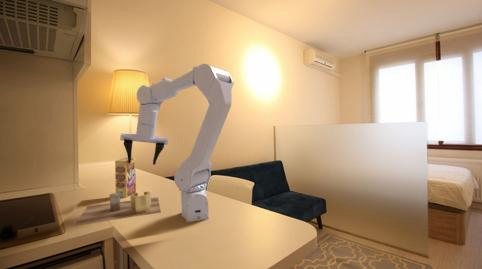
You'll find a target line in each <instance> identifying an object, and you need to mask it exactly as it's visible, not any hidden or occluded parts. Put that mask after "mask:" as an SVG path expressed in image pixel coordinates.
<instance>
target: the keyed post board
mask: <svg viewBox="0 0 482 269" xmlns="http://www.w3.org/2000/svg"><path fill="white" fill-rule="evenodd" d="M160 213H162V211H161V207H160V200H159V197H158V196H156V197H151V209H150V210H149V211H147V212H143V213H132V212H131V200H124V201H121V198H120V193H116V192H113V193H111V194H109V203H101V204H94V205H88V206H87V207H86V208H85V209H84V211H83V212H82V213H81V215H80V217H79V218H78V219H77V221H76V222H75V223H74V227H75V226H80V225H86V224H87V225H88V224H94V223H95V224H96V223H99V222H101V223H102V222H108V221H114V220H119V219H120V220H121V219H126V218H133V217H140V216H147V215H154V214H160Z"/></svg>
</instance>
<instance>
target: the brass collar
mask: <svg viewBox="0 0 482 269" xmlns="http://www.w3.org/2000/svg"><path fill="white" fill-rule="evenodd" d="M129 197H130V201H131V212H132V213H143V212H147V211H149V210H150V209H151V198H152V193H151V192H150V191H143V195H142V194H141V195H138V192H136V193H133V194H131V195H130V196H129Z"/></svg>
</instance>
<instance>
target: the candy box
mask: <svg viewBox="0 0 482 269" xmlns="http://www.w3.org/2000/svg"><path fill="white" fill-rule="evenodd" d="M114 163H115V164H114V168H115V173H114V176H115V178H114V179H115V183H114V184H115V193H120V199H126V198H128V197H130V195H131V194H133V193H137V191H136V190H137V188H136V187H137V186H136V185H137V184H136V157H131V163H128V157H125V158H121V159H118V160H115V161H114Z"/></svg>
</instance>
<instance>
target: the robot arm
mask: <svg viewBox="0 0 482 269" xmlns="http://www.w3.org/2000/svg"><path fill="white" fill-rule="evenodd" d="M234 82H235V81H234V80H233V78H232V76H231V74H230V72H229V71H227V70H225V69H221V68H217V67H215V66H211V65H210V64H208V63H202V64H200V65H196V66H193V68H192V69H191V70H190V71H188V72H187V73H184V74H182V75H180V76H178V77H176V78H175V79H173V80H172V79H171V78H167V77H162V79H161V80H160V81H158V82H155V83H151V85H150V86H147V85H145V84H144V85H141V86H140V87H139V88H138V89H137V91H136V99H137V101H138V103H139V108H138V116H137V117H138V118H137V125H136V133H121V134H120V139H119V141H123V146H124V148H125V151H126V156H127V158H128V163H131V158H132V149H133V142H138V143H139V142H140V143H149V144H155V147H154V156H153V158H152V159H153V160H152V165H153V166H154V165H156V164H157V160H158V158H159V156H160V153H161V152H162V151H163V150H164V147H165V146H168V143H169V139H168V137H162V136H158V135H157V136H156V128H157V120H158V114H159V111H160V109H161V105H162V104H163V102H164V101H167V100H169V99H173V98H174V97H176V96H177V95H178V92H181V91H183V90H186V89H188V88H189V89H190V88H193V87H197V89H198V90H199V92H201V93H202V94H203V96H204V97H205V99H206V100H207V102H208V107H207V110H206V112H205V116H204V118H203V120H202V124H201V126H200V129H199V131H198V134H197V136H196V140H195V142H194V144H193V147H192V150H191V153H190V154H189V156H188V157H187V158H186V159H184V160H183V161H182V163H181V164H180V167H179V168H177V170H176V171H175V173H174V179H173V180H174V183H175V186H176V188H178V191H180V198H181V199H180V202H181V207H180V208H181V216H182V218H183V219H185V221H186V223H192V222H199V221H203V220H209V219H210V215H209V200H208V197H207V187H208V183H209V181H210V180H211V177H212V174H211V171H212V167H213V164H212V162H210V159H211V157H212V154H213V152H214V150H215V146H216V144H217V141H218V140H219V137H220V134H221V132H222V130H223V127H224V125H225V122H226V120H227V118H228V114H229V112H230V109H231V107H232V89H233V86H234Z"/></svg>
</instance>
